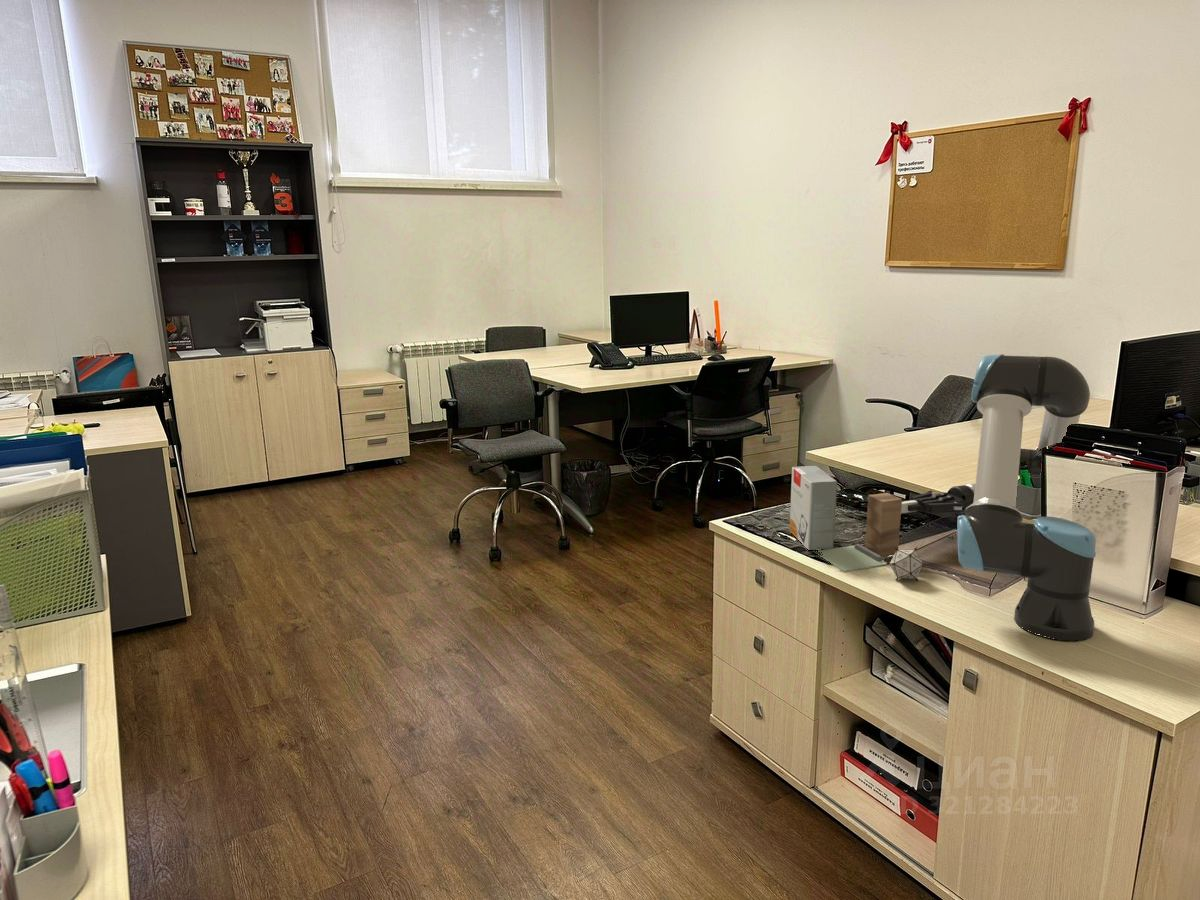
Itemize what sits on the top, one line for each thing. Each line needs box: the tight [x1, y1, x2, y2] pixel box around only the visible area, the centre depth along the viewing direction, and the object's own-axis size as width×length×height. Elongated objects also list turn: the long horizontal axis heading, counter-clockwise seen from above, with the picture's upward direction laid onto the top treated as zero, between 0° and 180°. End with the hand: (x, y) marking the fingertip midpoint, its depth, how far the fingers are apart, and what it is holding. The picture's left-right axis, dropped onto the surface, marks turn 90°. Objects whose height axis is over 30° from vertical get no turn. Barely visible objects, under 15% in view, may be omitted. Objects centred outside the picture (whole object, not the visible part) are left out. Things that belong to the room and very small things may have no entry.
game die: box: [886, 546, 928, 582], centre depth 200 cm, size 9×8×10 cm
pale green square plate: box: [816, 543, 888, 573], centre depth 214 cm, size 14×13×2 cm
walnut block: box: [864, 492, 903, 560], centre depth 215 cm, size 6×6×16 cm
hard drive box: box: [789, 465, 838, 551], centre depth 225 cm, size 16×8×20 cm, turn 6°
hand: (895, 508), depth 217 cm, fingers closed
